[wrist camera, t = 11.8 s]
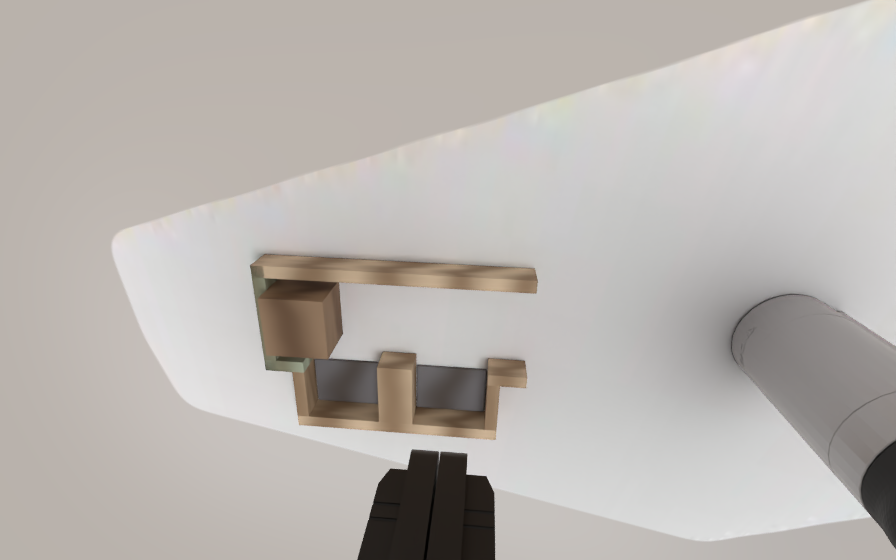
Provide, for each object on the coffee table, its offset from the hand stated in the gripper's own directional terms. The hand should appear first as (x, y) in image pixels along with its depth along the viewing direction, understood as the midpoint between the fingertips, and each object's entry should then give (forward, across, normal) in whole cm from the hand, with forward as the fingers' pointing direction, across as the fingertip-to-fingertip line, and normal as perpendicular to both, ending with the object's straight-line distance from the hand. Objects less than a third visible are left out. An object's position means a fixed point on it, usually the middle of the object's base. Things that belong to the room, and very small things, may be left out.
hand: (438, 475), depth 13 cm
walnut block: (+32, +16, +12) cm, 38 cm away
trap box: (+32, +7, +15) cm, 36 cm away
